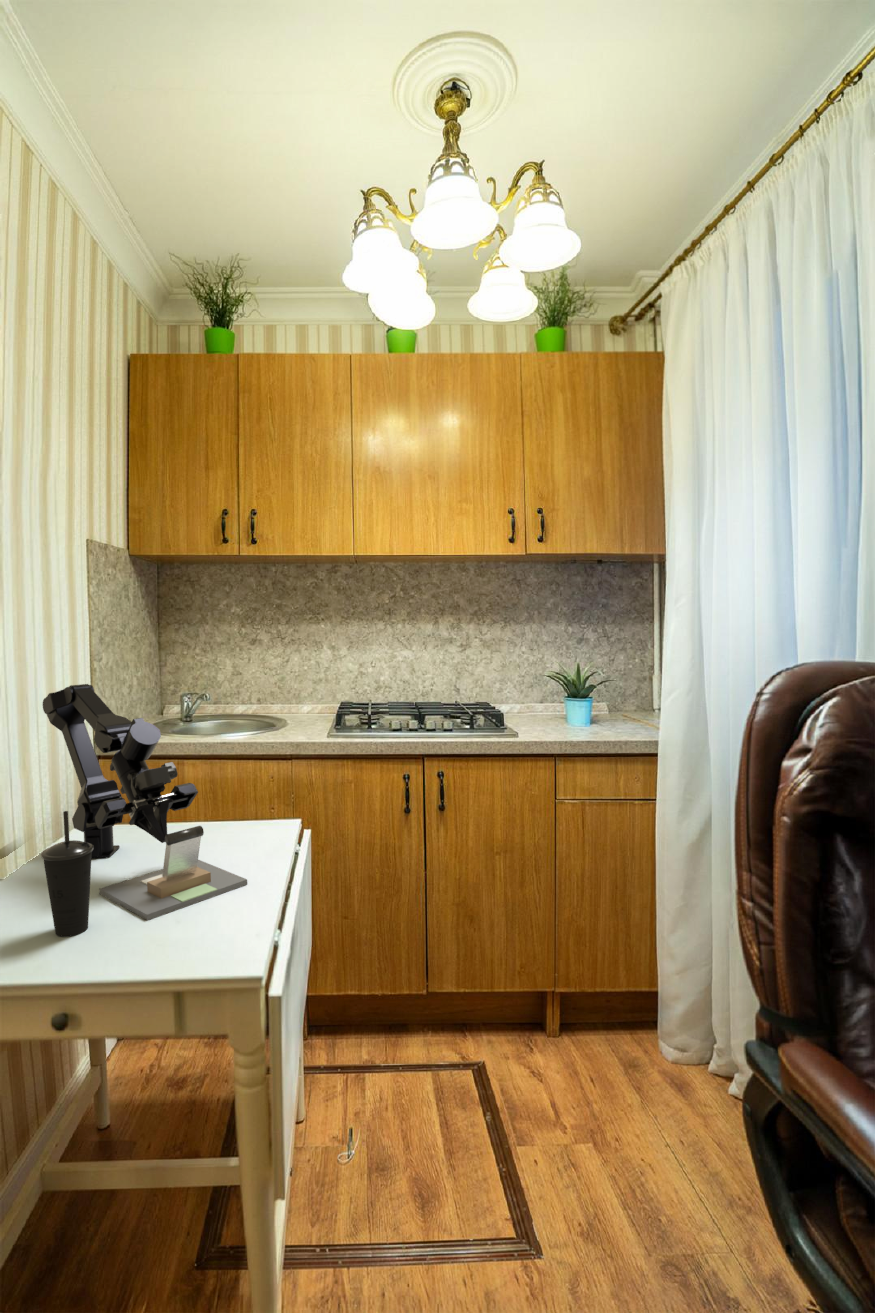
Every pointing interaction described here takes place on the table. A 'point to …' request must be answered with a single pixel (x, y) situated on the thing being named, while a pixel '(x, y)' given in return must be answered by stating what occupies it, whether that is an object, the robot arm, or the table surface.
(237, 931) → the table surface
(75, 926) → the drinking cup
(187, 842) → the bench scraper
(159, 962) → the table surface
